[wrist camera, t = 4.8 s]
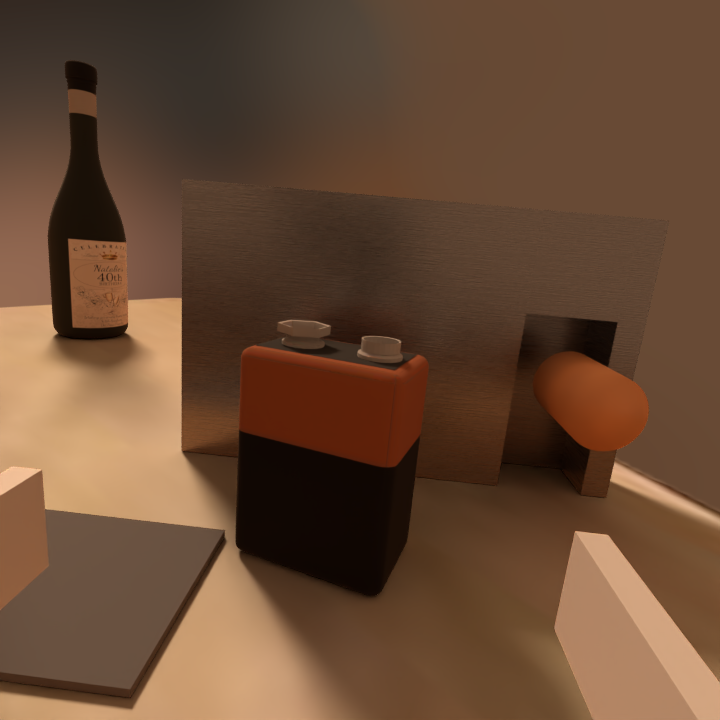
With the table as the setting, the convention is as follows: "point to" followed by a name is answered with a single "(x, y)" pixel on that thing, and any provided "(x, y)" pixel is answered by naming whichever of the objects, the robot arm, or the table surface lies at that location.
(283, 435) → the battery
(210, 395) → the panel
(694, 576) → the table surface
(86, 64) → the wine bottle
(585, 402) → the orange rounded cylinder
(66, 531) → the mat
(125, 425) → the table surface
